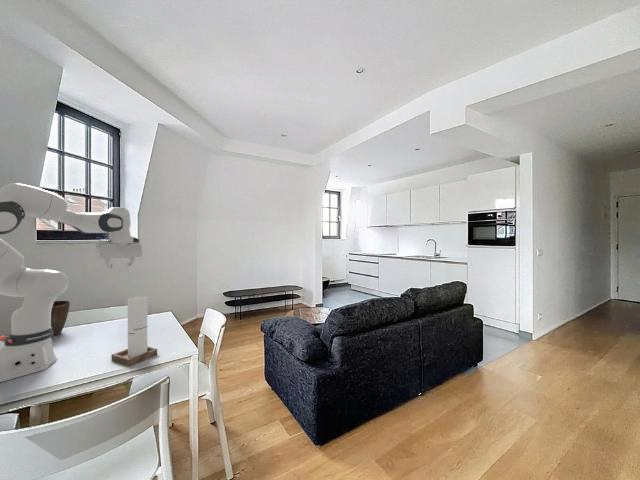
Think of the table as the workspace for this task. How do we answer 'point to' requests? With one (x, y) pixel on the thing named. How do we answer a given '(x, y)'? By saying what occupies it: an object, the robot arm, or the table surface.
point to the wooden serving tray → (123, 357)
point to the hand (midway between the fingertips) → (120, 267)
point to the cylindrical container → (137, 326)
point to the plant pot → (59, 316)
